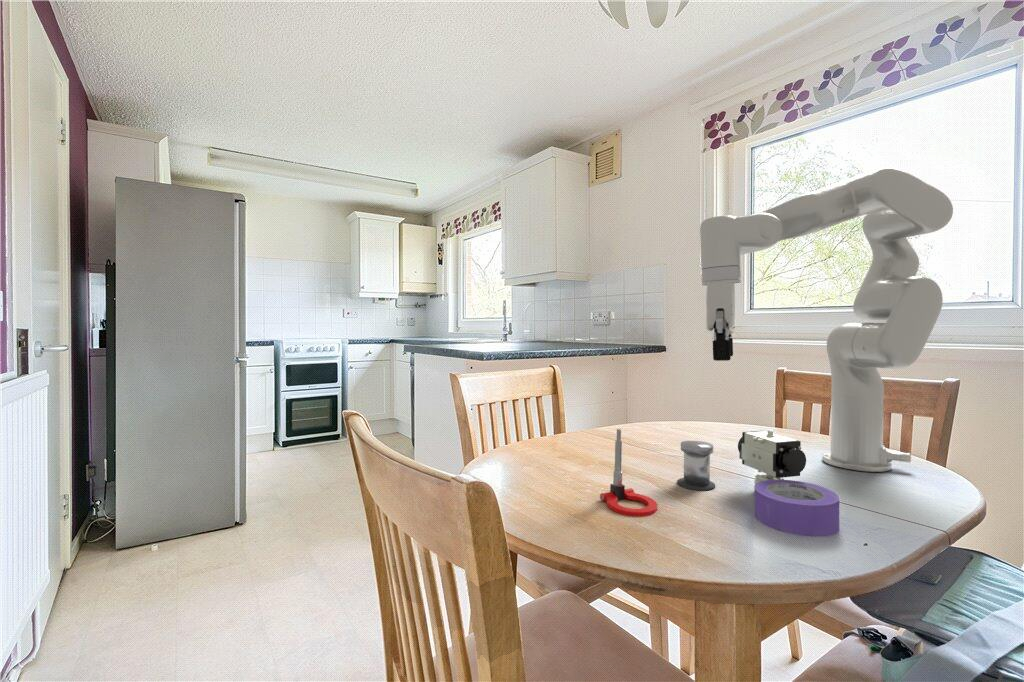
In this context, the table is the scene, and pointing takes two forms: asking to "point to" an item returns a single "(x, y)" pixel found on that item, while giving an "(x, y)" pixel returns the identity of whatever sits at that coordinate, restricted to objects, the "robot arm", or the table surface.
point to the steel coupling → (697, 462)
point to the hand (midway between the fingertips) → (723, 358)
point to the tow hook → (620, 492)
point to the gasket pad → (684, 485)
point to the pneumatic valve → (771, 455)
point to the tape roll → (797, 507)
